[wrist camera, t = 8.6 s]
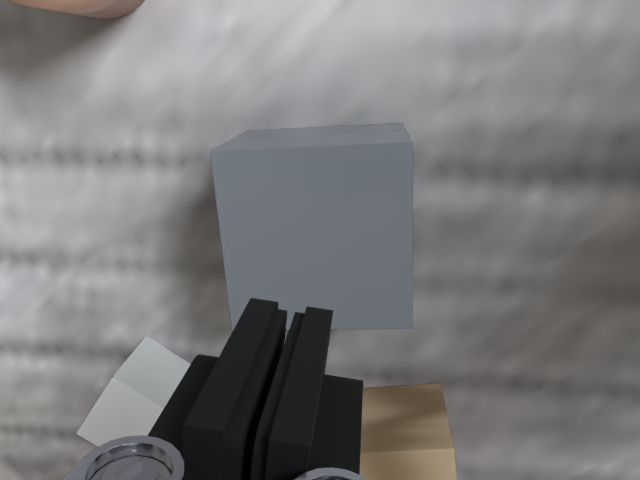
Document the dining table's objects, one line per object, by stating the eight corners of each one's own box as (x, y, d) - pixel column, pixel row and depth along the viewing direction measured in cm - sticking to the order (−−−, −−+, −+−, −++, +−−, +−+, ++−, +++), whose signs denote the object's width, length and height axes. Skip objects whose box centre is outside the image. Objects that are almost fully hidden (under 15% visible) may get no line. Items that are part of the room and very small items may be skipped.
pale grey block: (242, 394, 29) (222, 444, 25) (205, 442, 30) (181, 496, 26) (147, 334, 28) (112, 376, 24) (113, 385, 29) (76, 433, 26)
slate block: (402, 122, 24) (412, 141, 18) (403, 269, 26) (413, 328, 20) (247, 130, 24) (209, 151, 19) (261, 272, 26) (232, 330, 21)
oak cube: (439, 382, 27) (454, 448, 23) (446, 461, 29) (460, 538, 24) (343, 388, 28) (338, 454, 23) (354, 465, 30) (351, 542, 25)
